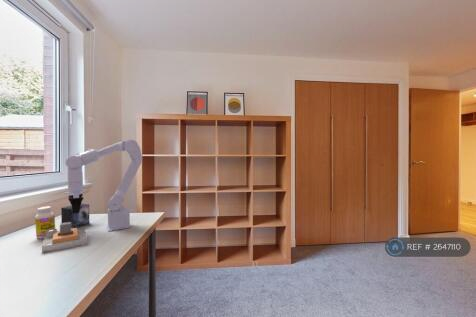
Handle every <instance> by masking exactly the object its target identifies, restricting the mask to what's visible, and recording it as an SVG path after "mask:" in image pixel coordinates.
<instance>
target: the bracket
mask: <svg viewBox="0 0 476 317" xmlns="http://www.w3.org/2000/svg"><path fill="white" fill-rule="evenodd" d="M77 230H78V227H77V228H72V229H71V234H68V235H62V236H60V230H57V232H56V233H54V234H53V239H52V244H53V243H59V242H64V241H70V240H75V239H78V232H77Z"/></svg>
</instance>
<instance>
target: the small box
mask: <svg viewBox="0 0 476 317" xmlns="http://www.w3.org/2000/svg"><path fill="white" fill-rule="evenodd" d="M60 208H61V211H60V212H61V222H60V223H67V222H71V229H72V228H77V229H78V228H81V227H83V226H87V225H90V204H88V203H81V206H80V212H79V213H73V209H72V205H68V206H62V207H60Z"/></svg>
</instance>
